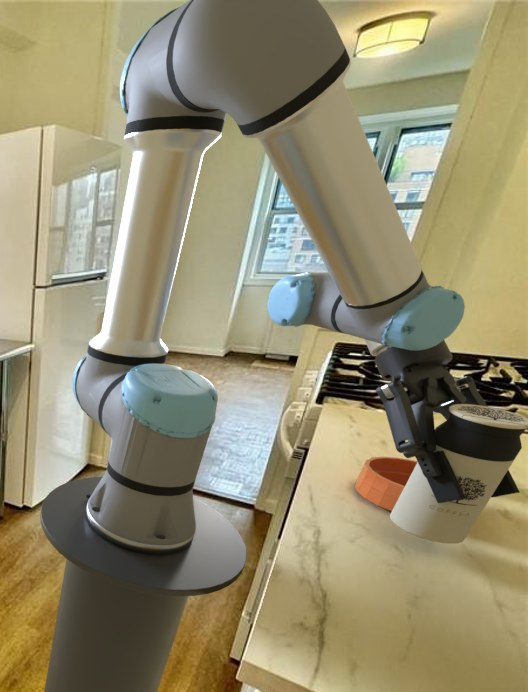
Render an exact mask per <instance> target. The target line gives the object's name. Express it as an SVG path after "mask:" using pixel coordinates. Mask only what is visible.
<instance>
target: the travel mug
mask: <svg viewBox="0 0 528 692" xmlns="http://www.w3.org/2000/svg"><path fill="white" fill-rule="evenodd" d="M487 406H488V405H487ZM487 406H480V405H472V404H456V405H452V406H450V407H449V411H450V414H449V417H448V420H445V421H443V422H441V423H440V424H439V425H437V426H435V427H434V428H435V439H436V450H435V451H434V452H437V451H444V453H445V455H446V457H447V459H448V461H449V463H450V465H451V467H452V469H453V471H454V474H455V476H456V478H457V480H458V482H459V484H460V486H461V488H462V491H463V493H464V495H465V497H466V498H465V499H460V500H454V501H449V502H444V503H437V500H436V498H435V496H434V494H433V491H432V489H431V487H430V485H429V483H428V480H427V478H426V477H425V476H424V475H423V472H422V470H421V467H420V466H419V464H418V463H417V464H416V466H415V468H414V470H413V472H412V474H411V476H410V478H409V480H408V482H407V484H406V485H405V487H404V489H403V491H402V493H401V495H400V497H399V499H398V501H397V503H396V505H395V506H394V508H393V510H392V511H390V514H389V519H390V520H391V522H393V524H395V525H396V526H397V527H398V528H400V529H401V530H402V531H404V532H406V533H408V534H410V535H413V536H415V537H417V538H420V539H424V540H427V541H430V542H434V543H441V544H452V545H455V544H460V543H463V542H464V541H465V539H467V536H468V535H469V533H470V531H471V530H472V528H473V527H474V525H475V523H476V522H477V520H478V519H479V517H480V516H481V514H482V513H483V511H484V509H485V508H486V506H487V505H488V502H489V501H490V500H491V499H492V497H491V496H492V495H493V493H494V492H495V490H496V488H497V487H498V485H499V484H500V482H501V480H502V479H503V477H504V476H505V474H506V472H507V471H508V470H509V469H510V467H511V466H512V464H513V463H514V461H515V460H516V458H517V457H518V455H519V453H520V452H521V450H522V448H523V447H522V445H523V444H522V441H521V436H522V435H523V434H524V432H525V431H526V430H527V429H528V417H526V416H524V415H521V414H519V413H516V412H512V411H509V410H505V409H502V408H496V407H491V406H488V407H487Z"/></svg>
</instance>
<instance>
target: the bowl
mask: <svg viewBox="0 0 528 692" xmlns="http://www.w3.org/2000/svg"><path fill="white" fill-rule="evenodd" d="M417 463H418V461H417V460H414V459H410V458H402V457H394V456H374V457H370V458H368V459H366V460H365V461H364V464H363V466H362V468H361V470H360V472H359V475H358V477H357V479H356V480H355V483H354V488H355V490H356V492H357V493H358V494H359V495H361V496H362V497H363V498H364V499H366V500H367V501H369V502H371V503H373V504H374V505H376V506H377V507H380V508H382V509H384V510H387V511H390V512H392V510H393V508H394V506H395V505H396V503H397V501H398V499H399V497H400V495H401V493H402V491H403V489H404V487H405V485H406V484H407V482H408V480H409V478H410V476H411V474H412V472H413V470H414V468H415V466H416V464H417Z"/></svg>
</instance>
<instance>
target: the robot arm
mask: <svg viewBox="0 0 528 692" xmlns="http://www.w3.org/2000/svg"><path fill="white" fill-rule="evenodd" d="M351 65H352V61H351V57H350V56H349V53H348V49H347V48H346V45H345V44H344V41H343V40H342V37H341V35H340V33H339V31H338V29H337V26H336V25H335V22H334V21H333V19H332V18H331V17H330V15H329V13H328V11H327V10H326V9H325V7H324V6H323V5H322V4H321V2H320V1H319V0H187V1H186V2H185V3H183V4H182V5H181V6H178V7H176V8H174V9H171V10H170V11H168V12H166V13H165V14H164V15H163V16H161V17H159V18H158V19H157V20H156V21H155V22H154V23H153V24H152V25H150V27H149V28H148V29H147V30H146V31H145V32H144V33H143V35H141V37H140V38H139V39H138V40H137V41H136V43H135V44H134V46H133V47H132V49H131V50H130V52H129V54H128V56H127V58H126V60H125V63H124V66H123V68H122V73H121V76H120V82H119V98H120V99H119V100H120V104H121V108H122V110H123V111H124V113H125V115H126V123H125V131H124V136H123V141H124V142H125V145H127V147H128V149H130V151H131V154H132V159H131V164H130V170H129V176H128V179H127V180H128V181H127V186H126V192H125V197H124V202H123V208H122V212H121V213H122V214H121V220H120V225H119V231H118V236H117V241H116V248H115V253H114V257H113V264H112V269H111V270H112V271H111V275H110V279H109V280H110V281H109V287H108V290H107V291H108V292H107V297H106V303H105V309H104V313H103V319H102V326H101V329H100V332H99V333H98V334H96V335H95V336H94V337H93V338H91V339H90V340H89V341H88V346H87V352H86V354H85V356H84V357H82V358H81V359H80V360H79V361H78V363H77V365H76V366H75V368H74V370H73V375H72V380H71V382H72V383H71V386H72V387H71V388H72V393H73V395H74V398H75V400H76V402H77V403H78V405H79V407H80V409H81V410H82V412H84V413H85V414H86V415H87V416H88V417H89V418H90V419H91V420H93V421H94V422H95V423H96V424H97V425H98V426H99V427H100V428H101V429H102V430H103V432H105V433H106V434H107V435H108V436H109V437H110V438H111V444H110V450H109V455H108V460H107V465H106V470H105V473H104V474H103V476H101V477H102V479H101V481H100V482H99V484H98V485H97V487H96V489H95V490H94V492H92V493H87V494H86V497H87V498H89V500H88V503H87V508H86V514H85V516H86V521H87V523H88V525H89V526H90V527H91V529H92V530H93V531H94V532H95V533H96V534H97V535H99V536H100V537H101V538H103V539H104V540H106V541H108V542H110V543H111V544H114V545H116V546H118V547H120V548H123V549H126V550H129V551H133V552H137V553H141V554H148V555H170V554H175V553H179V552H181V551H183V550H185V549H187V548H188V547H189V546H190V545H191V543H192V541H193V538H194V535H195V531H196V520H195V510H194V501H193V498H194V494H193V491H194V490H193V489H194V486H195V483H196V479H197V476H198V474H199V469H200V466H201V463H202V460H203V456H204V454H205V450H206V448H207V443H208V440H209V438H210V434H211V431H212V428H213V425H214V423H215V421H216V412H217V407H218V401H219V398H218V397H219V396H218V391H217V389H216V387H215V386H214V384H213V383H212V381H210V380H209V379H208V378H207V377H204V376H203V375H202V374H199V373H197V372H195V371H193V370H191V369H183V368H182V367H181V366H177V365H172V364H168V363H167V364H166V362H167V357H168V354H169V353H168V352H169V348H168V346H167V345H166V344H165V343H164V342H163V340H162V338H161V336H162V331H163V327H164V323H165V318H166V314H167V310H168V306H169V301H170V298H171V297H170V296H171V294H172V293H171V292H172V288H173V285H174V280H175V276H176V271H177V268H178V263H179V260H180V254H181V252H182V246H183V242H184V238H185V233H186V230H187V225H188V221H189V217H190V212H191V209H192V204H193V199H194V195H195V193H196V188H197V183H198V178H199V174H200V171H201V166H202V162H203V158H204V154H205V153H206V151H207V150H208V149H209V148H210V147H212V146H213V145H214V144H215V143H216V142H217V141H218V140H219V139H221V137H222V133H223V129H224V126H225V122H226V118H227V115H229V116H230V117H231V118H232V119H233V121H234V122H235V124H237V126H238V129H239V131H240V132H241V134H242V136H243V137H244V138H247V139H258V141H259V142H260V144H261V146H262V148H263V150H264V152H265V154H266V156H267V158H268V160H269V162H270V163H271V165H272V167H273V169H274V172H275V173H276V175H277V177H278V179H279V181H280V182H281V185H282V186H283V188H284V190H285V192H286V194H287V196H288V198H289V199H290V201H291V203H292V205H293V207H294V209H295V211H296V212H297V214H298V217H299V219H300V220H301V222H302V224H303V227H304V228H305V231H306V232H307V234H308V236H309V237H310V239H311V242H312V243H313V245H314V247H315V250H316V251H317V253H318V255H319V257H320V259H321V261H322V262H323V264H324V266H325V268H326V270H325V271H316V272H306V271H305V272H302V273H298V274H293V275H288V276H285V277H283V278H281V279H279V280H278V281H277V282H276V283H275V284H274V285H273V287H272V288H271V290H270V292H269V294H268V300H267V312H268V315H269V317H270V320H272V322H273V323H275V324H276V325H278V326H281V327H295V328H298V327H301V326H304V325H306V326H307V325H310V326H314V327H317V328H321V329H325V330H328V331H332V332H336V333H340V334H345V335H349V336H352V337H356V338H360V339H362V340H364V341H365V344H366V347H367V348H368V351H369V353H370V355H371V356H372V357H375V358H374V363H375V365H376V368H377V370H378V372H379V375H380V377H381V378H382V379H383V380H384V381H386V382H387V381H388V383H385V384H384V385H381V386H379V387H377V388H376V389H375V392H376V393H377V396H378V397H379V399H380V401H381V402H382V404H383V407H384V411H385V414H386V415H385V416H386V418H387V421H388V425H389V429H390V432H391V436H392V440H393V443H394V447H395V450H396V451H397V452H398V453H400V454H402V455H403V456H404V457H405V459H410V458H415V459H416V461H418V464H419V466H420V467H421V470H422V472H423V475H424V476H425V477H426V478H427V480H428V483H429V485H430V487H431V489H432V491H433V494H434V496H435V498H436V500H437V503H444V502H449V501H454V500H460V499H465V498H466V497H465V495H464V493H463V491H462V488H461V486H460V484H459V482H458V480H457V478H456V476H455V474H454V471H453V469H452V467H451V465H450V463H449V461H448V459H447V457H446V455H445V453H444V451H437V452H434V451H435V450H436V439H435V428H436V427H435V416H434V413H437V414H440V415H442V416H443V418H444V419H445V421H447V420H448V417H449V414H450V411H449V407H450V406H452V405H456V404H472V405H480V406H487V407H489V406H488V404H487V403H486V401H485V400H484V398H483V397H482V395H481V394H480V393H479V391H478V389H477V386H476V383H475V379H474V378H473V377H472V376H470V375H467V376H463V377H461V378H455V377H454V376H453V374H452V373H450V371H449V370H448V369H447V365H448V364H449V363H450V362H451V361H452V360H453V354H452V352H451V350H450V348H449V346H448V344H447V342H446V341H445V340H446V339H448V338H449V337H450V336H451V335H452V334H453V333H454V332H455V331H456V330H457V329H458V326H460V324H461V322H462V320H463V318H464V315H465V309H466V305H465V300H464V298H463V296H462V295H461V294H460V293H458V292H457V291H455V290H453V289H448V288H445V287H443V286H442V285H435V286H434V285H433V286H432V285H430V284H429V282H428V280H427V277H426V275H425V273H424V271H423V270H422V266H421V264H420V261H419V258H418V257H417V254H416V251H415V249H414V247H413V245H412V242H411V239H410V237H409V234H408V233H407V230H406V228H405V225H404V223H403V220H402V219H401V215H400V214H399V212H398V209H397V206H396V204H395V202H394V199H393V196H392V195H391V192H390V189H389V187H388V185H387V183H386V180H385V178H384V176H383V173H382V171H381V168H380V166H379V163H378V161H377V158H376V156H375V154H374V151H373V149H372V146H371V144H370V142H369V140H368V137H367V135H366V133H365V130H364V128H363V125H362V123H361V120H360V118H359V116H358V113H357V112H356V108H355V107H354V104H353V102H352V100H351V97H350V95H349V93H348V89H347V88H346V85H345V83H344V80H345V78H346V75H347V73H348V72H349V70H350V67H351ZM519 493H521V491H520V489H519V488H518V486H517V483H516V482H515V480H514V478H513V475H512V474H511V472H510V470H509V469H508V471H507V472H506V474H505V476H504V477H503V479H502V480H501V482H500V484H499V485H498V487H497V488H496V490H495V492H494V493H493V495H492V496H491V498H497V497H503V496H508V495H514V494H519Z"/></svg>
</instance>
